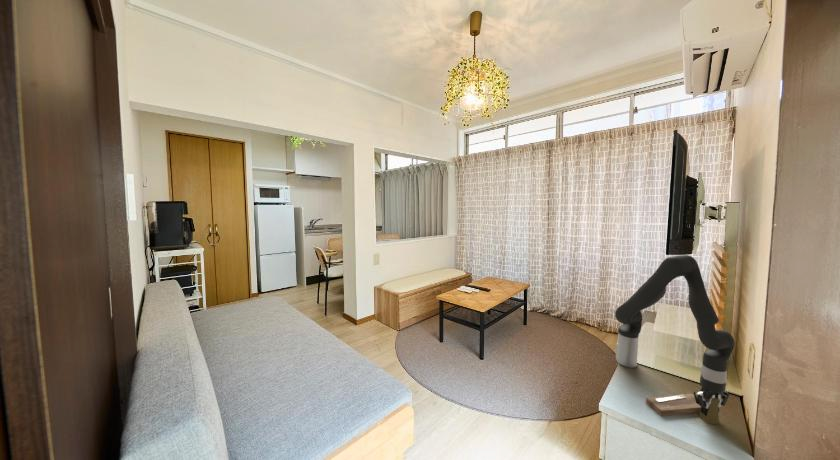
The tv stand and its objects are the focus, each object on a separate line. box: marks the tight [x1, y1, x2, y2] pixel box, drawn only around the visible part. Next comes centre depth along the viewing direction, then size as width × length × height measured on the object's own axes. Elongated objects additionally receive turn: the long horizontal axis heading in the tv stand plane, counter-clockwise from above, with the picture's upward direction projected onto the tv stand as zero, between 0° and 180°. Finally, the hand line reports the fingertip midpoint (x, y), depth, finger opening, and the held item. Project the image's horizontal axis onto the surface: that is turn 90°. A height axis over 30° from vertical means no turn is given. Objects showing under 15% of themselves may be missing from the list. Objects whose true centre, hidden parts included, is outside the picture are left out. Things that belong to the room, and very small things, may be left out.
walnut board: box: [645, 393, 701, 417], centre depth 129 cm, size 8×22×3 cm, turn 93°
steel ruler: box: [655, 394, 686, 402], centre depth 131 cm, size 2×14×1 cm, turn 97°
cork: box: [698, 396, 720, 425], centre depth 121 cm, size 6×6×11 cm
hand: (709, 413), depth 122 cm, fingers closed on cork, 4 cm apart
